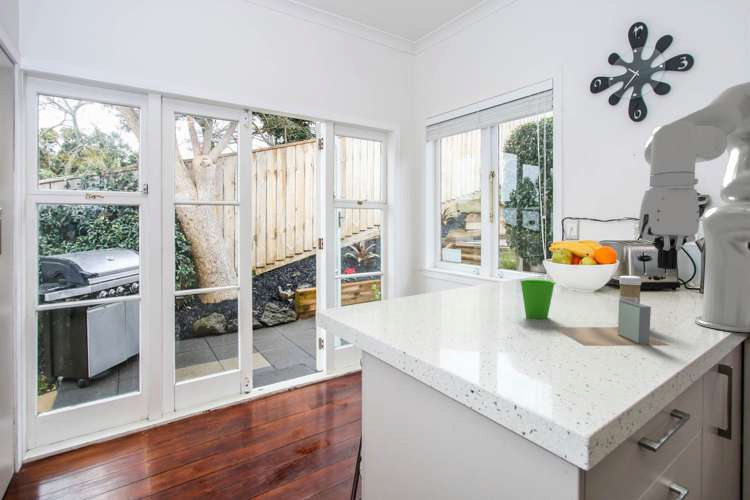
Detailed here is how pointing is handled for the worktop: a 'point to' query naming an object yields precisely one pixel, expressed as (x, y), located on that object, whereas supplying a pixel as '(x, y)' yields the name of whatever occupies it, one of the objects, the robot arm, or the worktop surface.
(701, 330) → the worktop surface
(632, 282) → the sprinkles bottle
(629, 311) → the tile
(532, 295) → the cup
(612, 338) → the board
